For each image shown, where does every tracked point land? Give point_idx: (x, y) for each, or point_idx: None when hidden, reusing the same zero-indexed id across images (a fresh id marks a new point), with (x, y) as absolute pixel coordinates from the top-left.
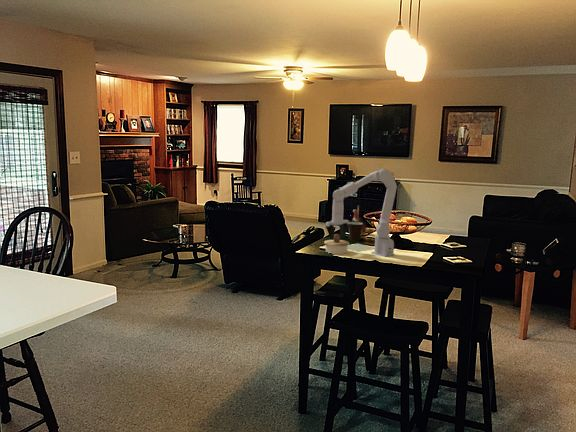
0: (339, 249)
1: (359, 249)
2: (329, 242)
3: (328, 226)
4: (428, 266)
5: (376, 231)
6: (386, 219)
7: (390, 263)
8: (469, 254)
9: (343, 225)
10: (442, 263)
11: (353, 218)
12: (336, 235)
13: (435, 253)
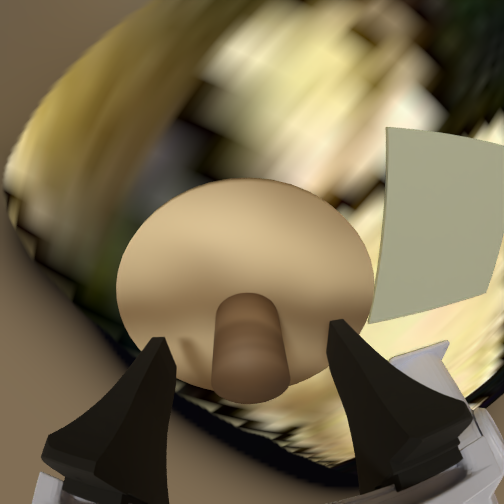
0: None
1: (422, 281)
2: (165, 299)
3: (77, 482)
4: (355, 460)
5: (477, 421)
6: None
7: (305, 448)
8: (501, 390)
9: (373, 481)
10: None
11: None
12: (224, 395)
13: (489, 380)
